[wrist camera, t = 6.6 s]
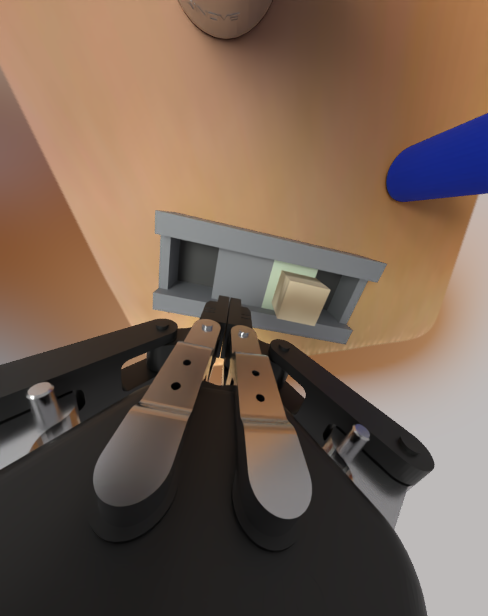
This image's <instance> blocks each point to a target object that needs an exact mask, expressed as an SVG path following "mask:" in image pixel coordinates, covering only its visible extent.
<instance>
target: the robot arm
mask: <svg viewBox="0 0 488 616" xmlns="http://www.w3.org/2000/svg"><path fill="white" fill-rule="evenodd" d="M178 1H179V3H180V5H181V7H182V8H183V10H184V12H185V13H186V14H187V15H188V17H189V18H190V19H191V21H192V22H193V23H194V24H195V25H196V26H198V27H199V28H200V29H201V30H202V31H204V32H206V33H208V34H210V35H212V36H214V37H218V38H224V39H229V38H236V37H239V36H241V35H243V34H245V33H247V32H249V31H250V30H251V29H252V28H253V27H254V26H256V25H257V24H258V23H259V21H260V20H261V19H262V17H263V16H264V15H265V13H266V12H267V10H268V8H269V6H270V4H271V2H272V0H178ZM229 299H230V302H229ZM222 342H223V343H222ZM221 347H222V350H221ZM146 352H147V358H146V359H144V360H142V361H139V362H137V363H135V364H133V365H130V366H128V367H126V368H124V369H121V367H122V365H123V364H124V363H125V362H126V361H128V360H129V359H132V358H134V357H136V356H139V355H141V354H144V353H146ZM220 352H221V357H220V358H223V359H224V364H223V369H222V385H221V386H218V385H214V384H212V383H209V379H210V376H211V373H212V369H213V364H214V363H215V361H216V357H217V358H219V356H220ZM288 374H289V375H290V376H291V377H292V378H293V379H294V380H296V381H297V382H298V383H299V384H300V385H301V386H302V387H303V388H304V390H305V392H306V398H305V399H304V398H303V397H302V396H301V395H300V394H299V393H298V392H297V391H296V390H295V389H294V388H293V387H292V386H290V385H289V384H288V383H287V382H286V378H287V376H288ZM433 469H434V461H433V458H432V456H431V454H430V453H429V451H428V450H427V448H426V447H425V446H424V445H423V444H422V443H421V442H420V441H419V440H418V439H417V438H416V437H415V436H413V435H412V434H411V433H409V432H408V431H407V430H405V429H404V428H403V427H401V426H400V425H399V424H397V423H396V422H395V421H393V420H392V419H391V418H389V417H388V416H387V415H385V414H384V413H383V412H381V411H380V410H379V409H377V408H376V407H375V406H373V405H372V404H371V403H369V402H368V401H367V400H365V399H364V398H363V397H361V396H360V395H359V394H357V393H356V392H355V391H353V390H352V389H351V388H349V387H348V386H347V385H345V384H344V383H343V382H342V381H340V380H339V379H338V378H336V377H335V376H333V375H332V374H331V373H330V372H328V371H327V370H325V369H324V368H323V367H322V366H320V365H319V364H318V363H316V362H315V361H314V360H312V359H311V358H310V357H308V356H307V355H306V354H304V353H303V352H302V351H300V350H299V349H298V348H296V347H295V346H294V345H292V344H291V343H289V342H287V341H285V340H280V339H276V340H273V341H272V342H271V344H267V343H265V342H262V341H260V340H259V339H258V338H257V334H256V332H255V331H254V330H253V329H252V320H251V311H250V310H249V309H248V308H247V307H242V306H241V299H237V298H232V297H231V298H230V297H227V296H222V295H219V298H218V302H216V301H211V300H210V301H208V302H207V303H206V304H205V306H204V309H203V312H202V314H201V317H200V319H199V320H197V321H196V322H195V323H194V324H193V326H192V327H191V328H181V329H178V326H177V324H176V323H175V322H174V321H172V320H169V319H156V320H152V321H149V322H145V323H142V324H138V325H135V326H132V327H128V328H125V329H122V330H118V331H115V332H111V333H108V334H105V335H101V336H98V337H94V338H91V339H87V340H84V341H81V342H77V343H74V344H71V345H67V346H64V347H60V348H57V349H54V350H50V351H47V352H43V353H40V354H37V355H33V356H30V357H26V358H23V359H20V360H16V361H13V362H10V363H6V364H3V365H0V616H427V611H426V606H425V602H424V597H423V593H422V589H421V586H420V583H419V580H418V577H417V575H416V572H415V569H414V566H413V564H412V562H411V560H410V558H409V555H408V553H407V551H406V550H405V548H404V546H403V544H402V542H401V540H400V539H399V537H398V535H397V534H396V533H395V531H394V528H395V525H396V522H397V519H398V516H399V512H400V509H401V506H402V503H403V500H404V497H405V494H406V492H407V491H408V490H409V489H410V488H412V487H413V486H414V485H415V484H416V483H417V482H419V481H420V480H421V479H422V478H424V477H425V476H426V475H427V474H428V473H430V472H431V471H432V470H433Z"/></svg>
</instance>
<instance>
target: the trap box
mask: <svg viewBox="0 0 488 616" xmlns="http://www.w3.org/2000/svg"><path fill="white" fill-rule="evenodd" d="M155 234H159V235H161V240H160V266H159V288H158V289H157V290H156V291H154V292H153V309H155V310H160V311H166V312H171V313H177V314H182V315H188V316H193V317H199V318H200V317H201V314H202V312H203V309H204V306H205V304H206V303H207V302H208V301H210V300H211V301H216V302H218V298H219V295H222V296H227V297H230V298H231V297H232V298H237V299H241V306H242V307H247V308H248V309H249V310H250V311H251V320H252V327H253V328H259V329H264V330H270V331H275V332H281V333H286V334H292V335H297V336H303V337H308V338H314V339H319V340H325V341H330V342H336V343H341V344H346V342H347V341H348V339H349V337H350V335H351V333H352V331H353V330H352V329H351V328H350V327H349V326H348V325H347V322H348V320H349V318H350V316H351V314H352V312H353V310H354V308H355V306H356V304H357V302H358V300H359V298H360V296H361V294H362V292H363V290H364V288H365V286H366V284H367V282H368V281H372V282H378V280H379V279H380V277H381V275H382V273H383V271H384V269H385V267H386V265H387V264H385V263H382V262H379V261H376V260H372V259H369V258H366V257H363V256H360V255H356V254H352V253H347V252H343V251H339V250H334V249H330V248H326V247H322V246H317V245H313V244H309V243H304V242H300V241H296V240H292V239H287V238H283V237H279V236H274V235H270V234H266V233H262V232H257V231H253V230H249V229H245V228H240V227H236V226H232V225H227V224H223V223H219V222H215V221H210V220H206V219H202V218H197V217H193V216H189V215H185V214H180V213H176V212H168V211H158V210H155ZM282 270H283V271H288V272H292V273H296V274H300V275H305V276H309V277H313V278H316V279H318V280H319V281H320V282H321V283H323V284H324V285H325V286H326V287H328V288H329V289H330V293H329V295H328V297H327V299H326V302H325V304H324V306H323V309H322V311H321V313H320V315H319V318H318V320H317V322H316V324H315V326H311V325H306V324H301V323H296V322H292V321H287V320H282V319H277V317H276V314H275V311H274V308H273V306H272V300H273V296H274V293H275V290H276V287H277V284H278V281H279V277H280V274H281V271H282ZM229 302H230V299H229Z"/></svg>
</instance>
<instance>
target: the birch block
mask: <svg viewBox="0 0 488 616" xmlns="http://www.w3.org/2000/svg"><path fill="white" fill-rule="evenodd" d="M329 293H330V289H329V288H328V287H326V286H325V285H324V284H323V283H321V282H320V281H319V280H318V279H316V278H313V277H309V276H305V275H300V274H296V273H292V272H288V271H283V270H282V271H281V274H280V277H279V281H278V284H277V287H276V290H275V293H274V296H273V300H272V306H273V308H274V311H275V314H276V317H277V319H282V320H287V321H292V322H296V323H301V324H306V325H311V326H315V324H316V322H317V320H318V318H319V315H320V313H321V311H322V309H323V306H324V304H325V302H326V299H327V297H328V295H329Z"/></svg>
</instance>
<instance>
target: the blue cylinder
mask: <svg viewBox="0 0 488 616" xmlns="http://www.w3.org/2000/svg"><path fill="white" fill-rule="evenodd" d="M386 185H387V190H388V193H389V194H390V196H391V197H392V198H393V199H395V200H397V201H400V202H408V201H418V200H428V199H437V198H447V197H457V196H466V195H476V194H485V193H488V113H487V114H485V115H482V116H480V117H478V118H475V119H473V120H471V121H468V122H466V123H464V124H461V125H459V126H457V127H454V128H452V129H450V130H447V131H445V132H443V133H440V134H438V135H436V136H433V137H431V138H429V139H426V140H424V141H422V142H419V143H417V144H415V145H412V146H410V147H408V148H406V149H405V150H403V151H402V152H401V153H400V154H399V155H398V156H397V157H396V158H395V160H394V161H393V163H392V164H391V166H390V169H389V171H388V174H387V180H386Z"/></svg>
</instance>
